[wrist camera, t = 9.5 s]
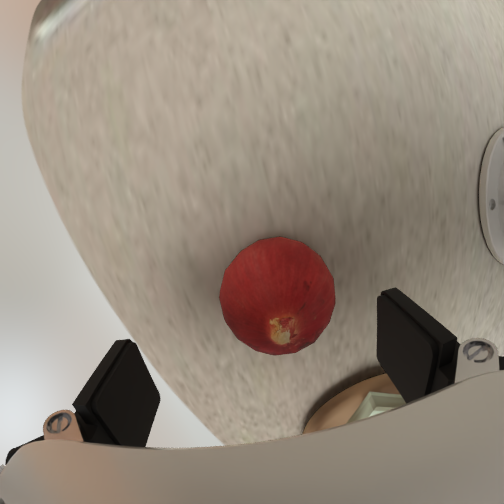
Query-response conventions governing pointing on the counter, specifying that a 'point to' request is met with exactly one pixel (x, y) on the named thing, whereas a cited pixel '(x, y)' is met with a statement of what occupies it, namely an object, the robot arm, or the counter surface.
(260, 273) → the onion
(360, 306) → the counter surface
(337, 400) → the disc
